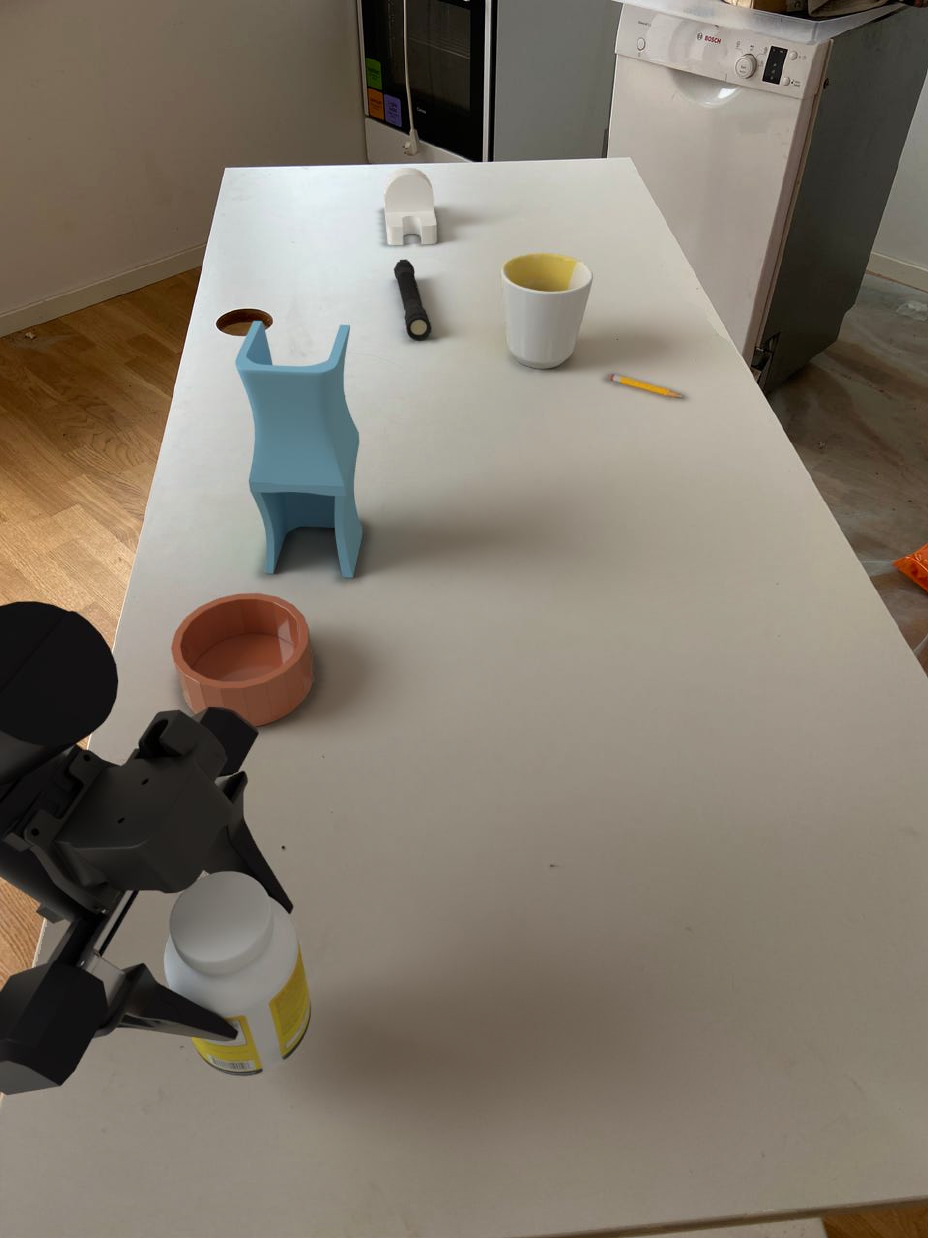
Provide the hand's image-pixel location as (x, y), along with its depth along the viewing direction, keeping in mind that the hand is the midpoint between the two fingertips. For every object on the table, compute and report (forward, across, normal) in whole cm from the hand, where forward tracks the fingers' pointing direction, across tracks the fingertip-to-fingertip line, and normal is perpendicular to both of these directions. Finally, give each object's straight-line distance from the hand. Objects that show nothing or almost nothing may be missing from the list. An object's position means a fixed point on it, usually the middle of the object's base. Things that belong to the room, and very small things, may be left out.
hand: (261, 972), depth 48 cm
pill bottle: (+4, 0, +6) cm, 7 cm away
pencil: (+15, +80, 0) cm, 81 cm away
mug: (+5, +85, +9) cm, 86 cm away
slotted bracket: (-13, +116, +28) cm, 120 cm away
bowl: (-3, +26, +17) cm, 32 cm away
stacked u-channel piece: (-3, +43, +18) cm, 47 cm away
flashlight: (-7, +91, +22) cm, 94 cm away
